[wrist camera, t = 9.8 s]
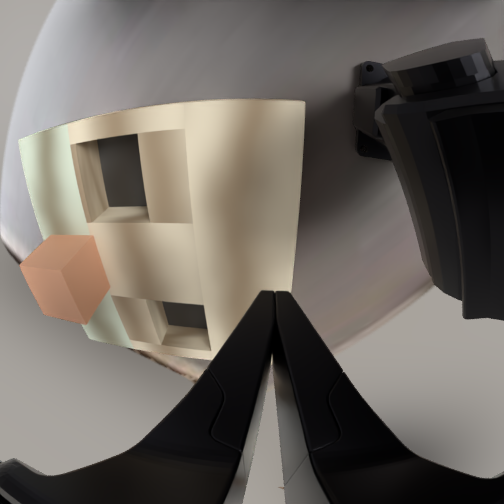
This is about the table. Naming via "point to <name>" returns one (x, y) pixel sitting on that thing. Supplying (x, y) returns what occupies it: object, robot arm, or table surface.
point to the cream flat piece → (176, 213)
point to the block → (67, 277)
